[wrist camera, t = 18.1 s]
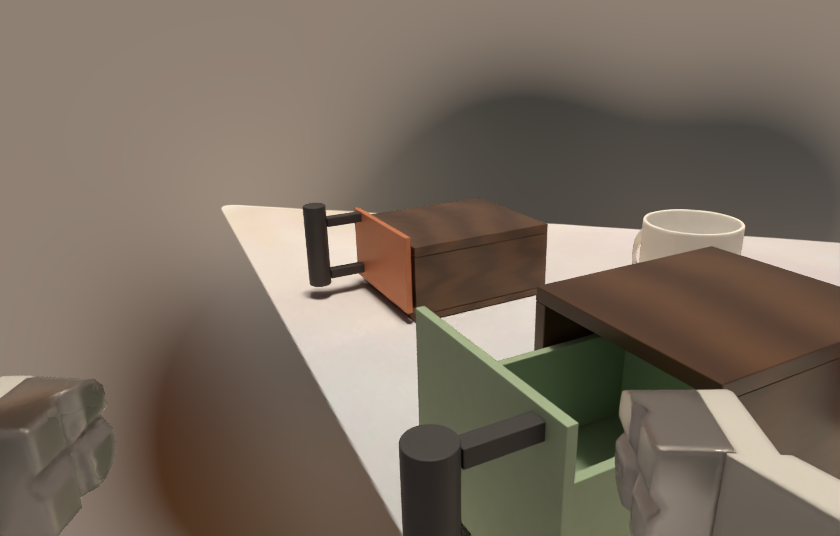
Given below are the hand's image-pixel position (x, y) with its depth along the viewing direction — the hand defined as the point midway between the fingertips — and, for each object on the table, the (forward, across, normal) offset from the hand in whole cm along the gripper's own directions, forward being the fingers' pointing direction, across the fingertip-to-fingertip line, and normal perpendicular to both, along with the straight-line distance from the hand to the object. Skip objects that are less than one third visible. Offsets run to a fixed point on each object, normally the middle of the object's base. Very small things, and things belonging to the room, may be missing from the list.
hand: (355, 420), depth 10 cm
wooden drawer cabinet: (+28, -16, +22) cm, 39 cm away
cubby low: (+60, 0, +22) cm, 63 cm away
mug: (+50, -22, +22) cm, 59 cm away
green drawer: (+21, -6, +20) cm, 30 cm away
